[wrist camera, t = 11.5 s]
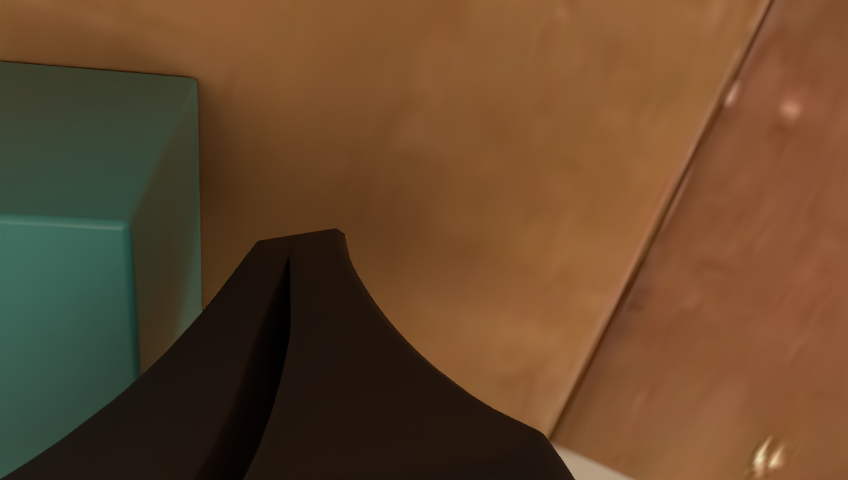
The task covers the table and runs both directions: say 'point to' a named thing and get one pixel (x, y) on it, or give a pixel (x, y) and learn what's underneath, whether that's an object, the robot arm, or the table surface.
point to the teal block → (91, 241)
